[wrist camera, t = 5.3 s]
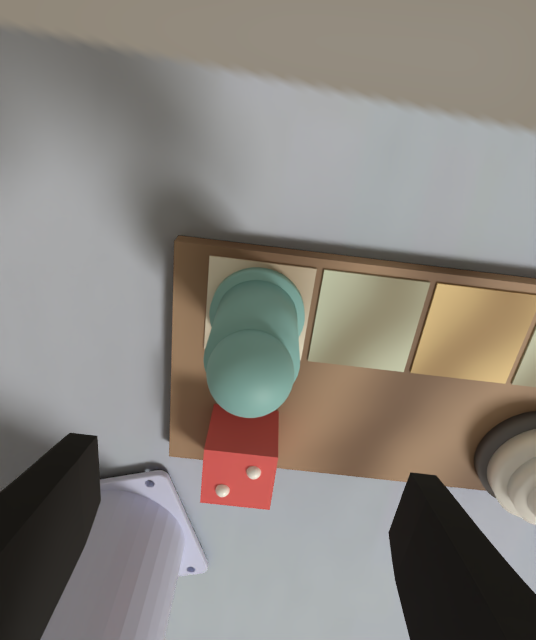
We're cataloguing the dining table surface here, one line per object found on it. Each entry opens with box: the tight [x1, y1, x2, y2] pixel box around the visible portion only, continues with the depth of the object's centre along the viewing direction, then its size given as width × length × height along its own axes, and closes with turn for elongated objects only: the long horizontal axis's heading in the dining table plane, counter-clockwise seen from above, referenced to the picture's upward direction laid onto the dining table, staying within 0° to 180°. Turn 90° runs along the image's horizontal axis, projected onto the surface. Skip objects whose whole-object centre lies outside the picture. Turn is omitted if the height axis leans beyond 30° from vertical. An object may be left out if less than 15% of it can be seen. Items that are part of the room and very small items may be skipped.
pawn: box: [203, 267, 305, 418], centre depth 16 cm, size 4×4×6 cm
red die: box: [200, 404, 279, 510], centre depth 20 cm, size 3×3×3 cm
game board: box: [169, 235, 536, 498], centre depth 20 cm, size 20×11×2 cm, turn 83°
